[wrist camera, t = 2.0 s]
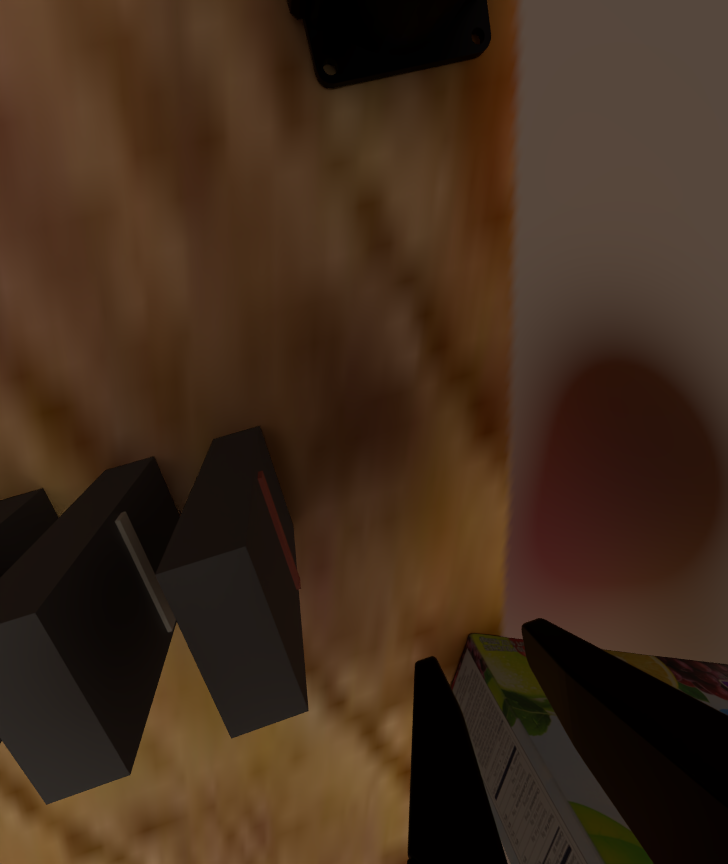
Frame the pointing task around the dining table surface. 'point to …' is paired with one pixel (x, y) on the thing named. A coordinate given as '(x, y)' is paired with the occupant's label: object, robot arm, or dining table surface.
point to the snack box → (552, 754)
